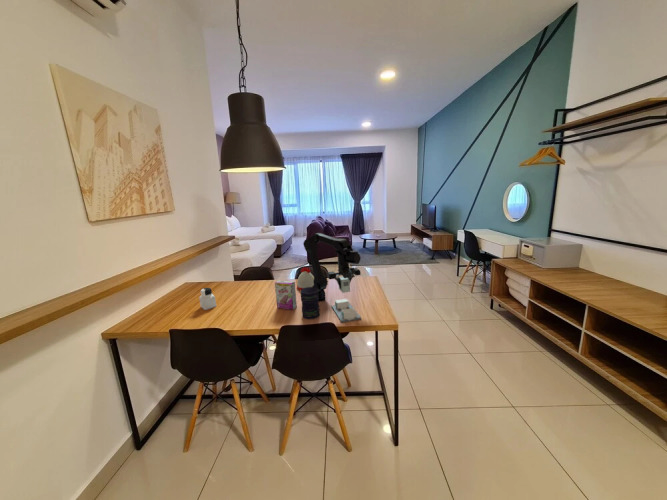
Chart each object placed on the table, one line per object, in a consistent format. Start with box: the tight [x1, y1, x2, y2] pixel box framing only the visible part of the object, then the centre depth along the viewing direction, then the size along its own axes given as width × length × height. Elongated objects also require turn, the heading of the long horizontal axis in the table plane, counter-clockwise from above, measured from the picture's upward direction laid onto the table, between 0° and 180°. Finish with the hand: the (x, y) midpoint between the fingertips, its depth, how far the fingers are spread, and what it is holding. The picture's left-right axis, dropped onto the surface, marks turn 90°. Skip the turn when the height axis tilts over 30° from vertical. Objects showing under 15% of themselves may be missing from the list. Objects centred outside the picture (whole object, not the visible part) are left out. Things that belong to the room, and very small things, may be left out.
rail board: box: [331, 298, 362, 324], centre depth 150 cm, size 11×20×4 cm, turn 15°
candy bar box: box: [274, 279, 298, 311], centre depth 160 cm, size 11×5×16 cm, turn 71°
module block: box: [338, 276, 351, 294], centre depth 155 cm, size 4×7×7 cm, turn 16°
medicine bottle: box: [198, 287, 217, 311], centre depth 167 cm, size 7×7×12 cm
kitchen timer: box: [296, 266, 314, 291], centre depth 193 cm, size 14×14×15 cm
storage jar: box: [300, 287, 321, 320], centre depth 149 cm, size 10×10×15 cm
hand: (344, 287), depth 155 cm, fingers closed on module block, 4 cm apart
